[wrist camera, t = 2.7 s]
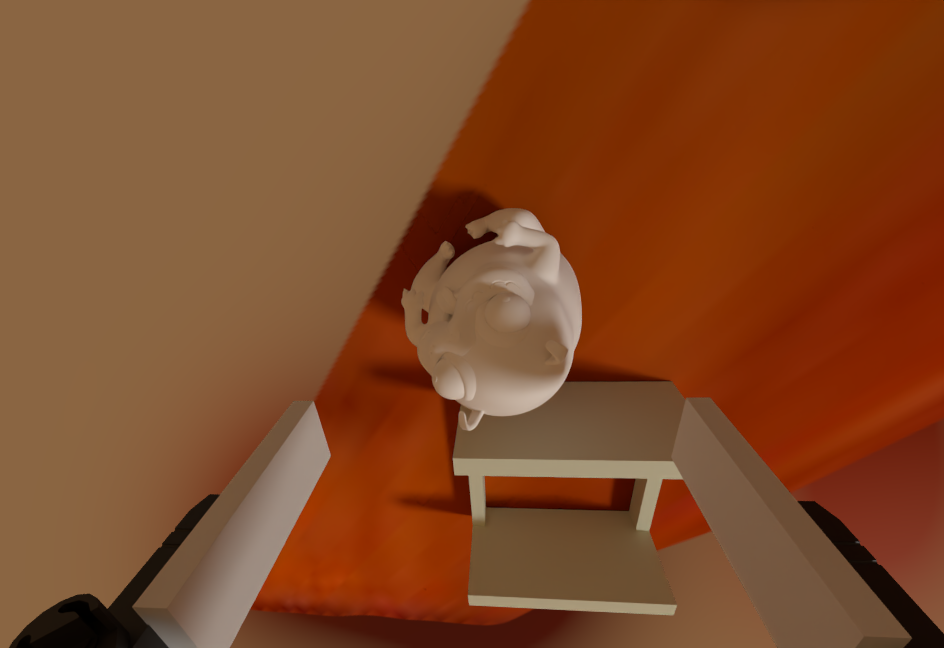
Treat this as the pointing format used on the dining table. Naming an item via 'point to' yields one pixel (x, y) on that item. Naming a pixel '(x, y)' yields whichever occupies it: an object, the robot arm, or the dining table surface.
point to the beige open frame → (573, 531)
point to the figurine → (497, 318)
